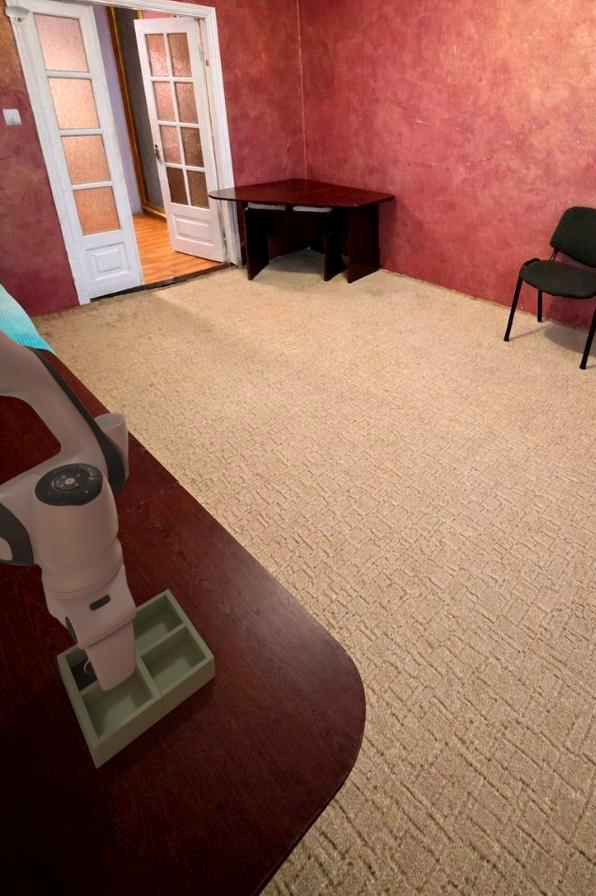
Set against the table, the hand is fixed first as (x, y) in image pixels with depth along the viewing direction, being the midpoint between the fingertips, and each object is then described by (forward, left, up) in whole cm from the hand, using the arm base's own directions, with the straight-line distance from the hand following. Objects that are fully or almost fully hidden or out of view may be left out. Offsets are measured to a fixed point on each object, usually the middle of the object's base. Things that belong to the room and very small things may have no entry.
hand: (98, 655), depth 68 cm
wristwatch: (0, 0, -2) cm, 2 cm away
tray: (+4, -4, -4) cm, 6 cm away
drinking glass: (+16, +42, -4) cm, 45 cm away
